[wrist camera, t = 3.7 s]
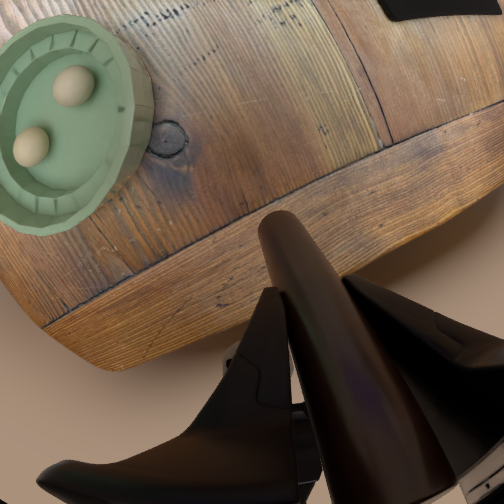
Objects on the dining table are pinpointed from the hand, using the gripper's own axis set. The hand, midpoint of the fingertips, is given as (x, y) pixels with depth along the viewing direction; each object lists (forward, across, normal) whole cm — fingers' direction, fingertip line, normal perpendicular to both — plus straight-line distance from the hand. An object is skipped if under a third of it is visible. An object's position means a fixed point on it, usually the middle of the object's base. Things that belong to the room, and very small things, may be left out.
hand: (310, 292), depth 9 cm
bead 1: (+11, +16, -7) cm, 21 cm away
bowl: (+13, +14, -8) cm, 20 cm away
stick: (+6, 0, 0) cm, 6 cm away
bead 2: (+11, +12, -10) cm, 19 cm away
